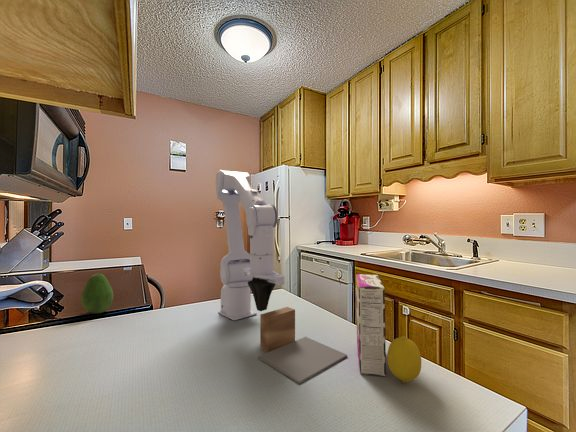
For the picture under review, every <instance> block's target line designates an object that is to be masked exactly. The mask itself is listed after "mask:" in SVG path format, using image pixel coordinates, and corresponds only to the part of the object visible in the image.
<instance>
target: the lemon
mask: <svg viewBox="0 0 576 432" xmlns="http://www.w3.org/2000/svg"><path fill="white" fill-rule="evenodd" d="M386 361H387V364H388V368H389V369H390V372H391V373H392V375H394V377H395V378H397V379H399V380H400V381H401V382H402V383H408V382H411V381H414V380H415V379H417V378H418V377H419V375H420V374H421V370H422V355H421V352H420V349H419V347H418V346H417V344H416V343H415V342H414V341H413V340H412V339H409V338H408V337H407V336H405V335H402V336H400V337H397V338H395V339H393V340H392V341H391V342H390V344H389V345H388V349H387V353H386Z"/></svg>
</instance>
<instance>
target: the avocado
mask: <svg viewBox="0 0 576 432" xmlns="http://www.w3.org/2000/svg"><path fill="white" fill-rule="evenodd" d="M113 300H114V291H113V288H112V286H111V284H110V282H109V280H108V278H107V277H106V276H105V275H104V274H102V273H95V274H92V275H91V276H90V277H89V278H88V280H87V281H86V284H85V286H84V289H83V290H82V294H81V300H80V301H81V304H82V307H83V308H84V310H85V311H86V312H88V313H91V314H102V313H104V312H107V311H108V310H109V309H110V307H111V306H112V303H113Z"/></svg>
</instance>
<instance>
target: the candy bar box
mask: <svg viewBox="0 0 576 432" xmlns="http://www.w3.org/2000/svg"><path fill="white" fill-rule="evenodd" d="M355 294H356V295H355V301H356V303H355V306H356V308H355V310H356V346H357V347H356V348H357V358H358V368H359V373H360V374H361V375H366V376H376V377H377V376H378V377H387V369H386V368H387V367H386V366H387V362H386V361H387V353H386V346H387V344H386V299H385V295H386V292H385V287H384V284H383V282H382V281H381V278H380V277H379V275H378V274H367V273H366V274H365V273H364V274H362V273H357V274H356V275H355Z"/></svg>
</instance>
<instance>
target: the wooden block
mask: <svg viewBox="0 0 576 432" xmlns="http://www.w3.org/2000/svg"><path fill="white" fill-rule="evenodd" d="M259 320H260V321H259V322H260V323H259V324H260V325H259V326H260V327H259V330H260V332H259V333H260V335H259V336H260V337H259V338H260V339H259V341H260V349H261V350H263V351H264V352H265V353H267V352H270V351H272V350H275V349H277V348H279V347H282V346H284V345H287V344H289V343H291V342H294V341H296V309H295V308H292V307H289V306H285V307H282V308H278V309H275V310H271V311H268V312H264V313H261V314H260V319H259Z"/></svg>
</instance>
